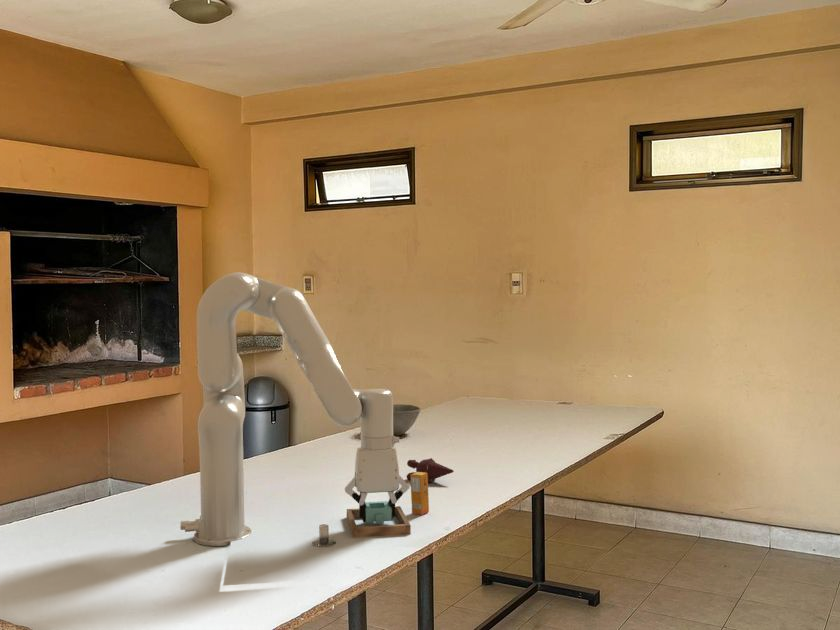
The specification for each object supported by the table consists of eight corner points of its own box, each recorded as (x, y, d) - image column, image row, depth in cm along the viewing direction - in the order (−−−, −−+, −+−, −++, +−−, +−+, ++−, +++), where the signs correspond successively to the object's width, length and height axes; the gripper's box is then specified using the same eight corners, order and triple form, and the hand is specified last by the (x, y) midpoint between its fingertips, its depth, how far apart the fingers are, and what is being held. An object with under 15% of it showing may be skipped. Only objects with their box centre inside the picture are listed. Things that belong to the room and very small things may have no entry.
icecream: (459, 459, 229) (413, 458, 236) (448, 457, 223) (401, 457, 230) (458, 483, 228) (412, 482, 235) (447, 483, 221) (400, 481, 228)
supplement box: (417, 510, 201) (417, 470, 200) (429, 512, 199) (429, 472, 199) (410, 513, 198) (410, 473, 198) (421, 515, 196) (421, 475, 196)
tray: (352, 541, 177) (352, 528, 177) (346, 521, 192) (346, 509, 192) (410, 538, 180) (410, 525, 179) (400, 518, 194) (400, 506, 194)
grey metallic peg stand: (312, 552, 171) (312, 530, 170) (311, 544, 176) (311, 522, 175) (336, 550, 171) (336, 528, 171) (335, 542, 177) (334, 521, 176)
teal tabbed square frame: (362, 512, 190) (362, 500, 190) (386, 510, 191) (386, 499, 191) (367, 524, 180) (367, 512, 180) (392, 523, 181) (392, 510, 181)
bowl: (420, 439, 288) (420, 411, 288) (368, 439, 288) (368, 411, 288) (421, 429, 307) (421, 403, 306) (372, 429, 307) (372, 403, 307)
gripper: (410, 438, 190) (410, 513, 191) (338, 440, 187) (339, 517, 188) (416, 444, 183) (416, 522, 183) (341, 447, 179) (341, 527, 180)
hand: (377, 519), depth 186 cm, fingers closed on teal tabbed square frame, 5 cm apart
